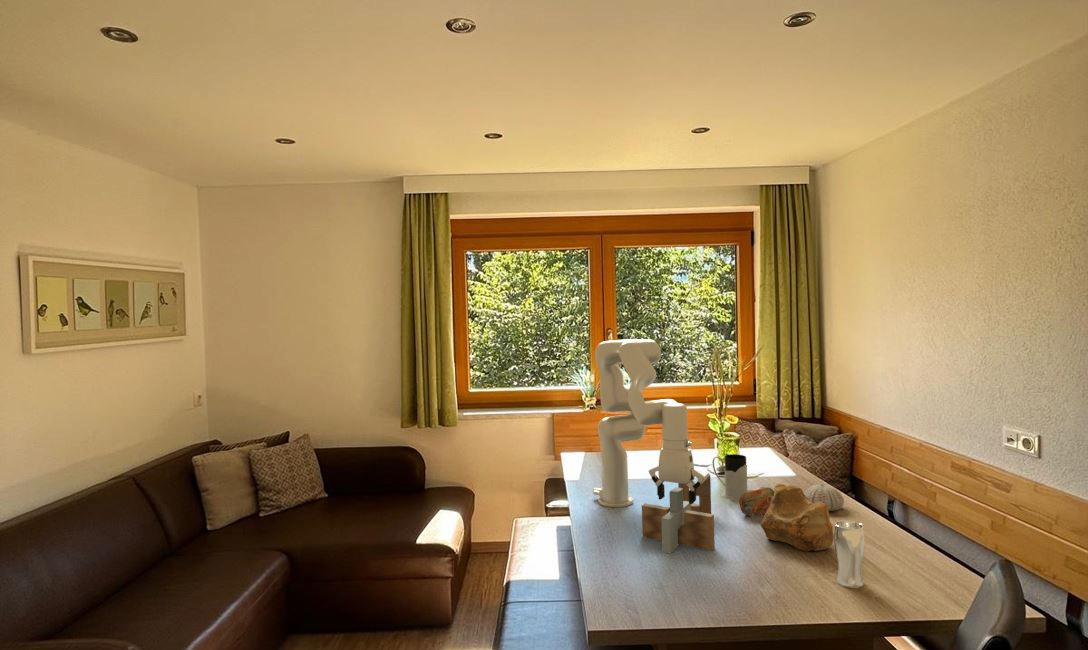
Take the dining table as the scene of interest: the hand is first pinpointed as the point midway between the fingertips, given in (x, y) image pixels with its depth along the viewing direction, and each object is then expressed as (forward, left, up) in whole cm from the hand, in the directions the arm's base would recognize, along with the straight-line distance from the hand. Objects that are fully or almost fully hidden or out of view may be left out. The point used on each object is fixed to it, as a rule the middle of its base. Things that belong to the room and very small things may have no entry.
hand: (676, 500), depth 191 cm
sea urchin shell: (+32, +54, -13) cm, 64 cm away
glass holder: (0, +53, -13) cm, 55 cm away
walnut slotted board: (0, 0, -13) cm, 13 cm away
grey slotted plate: (0, 0, -13) cm, 13 cm away
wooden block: (-4, +26, -13) cm, 29 cm away
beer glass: (+48, -5, -13) cm, 50 cm away
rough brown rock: (+29, +17, -13) cm, 36 cm away
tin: (+14, +38, -13) cm, 43 cm away
